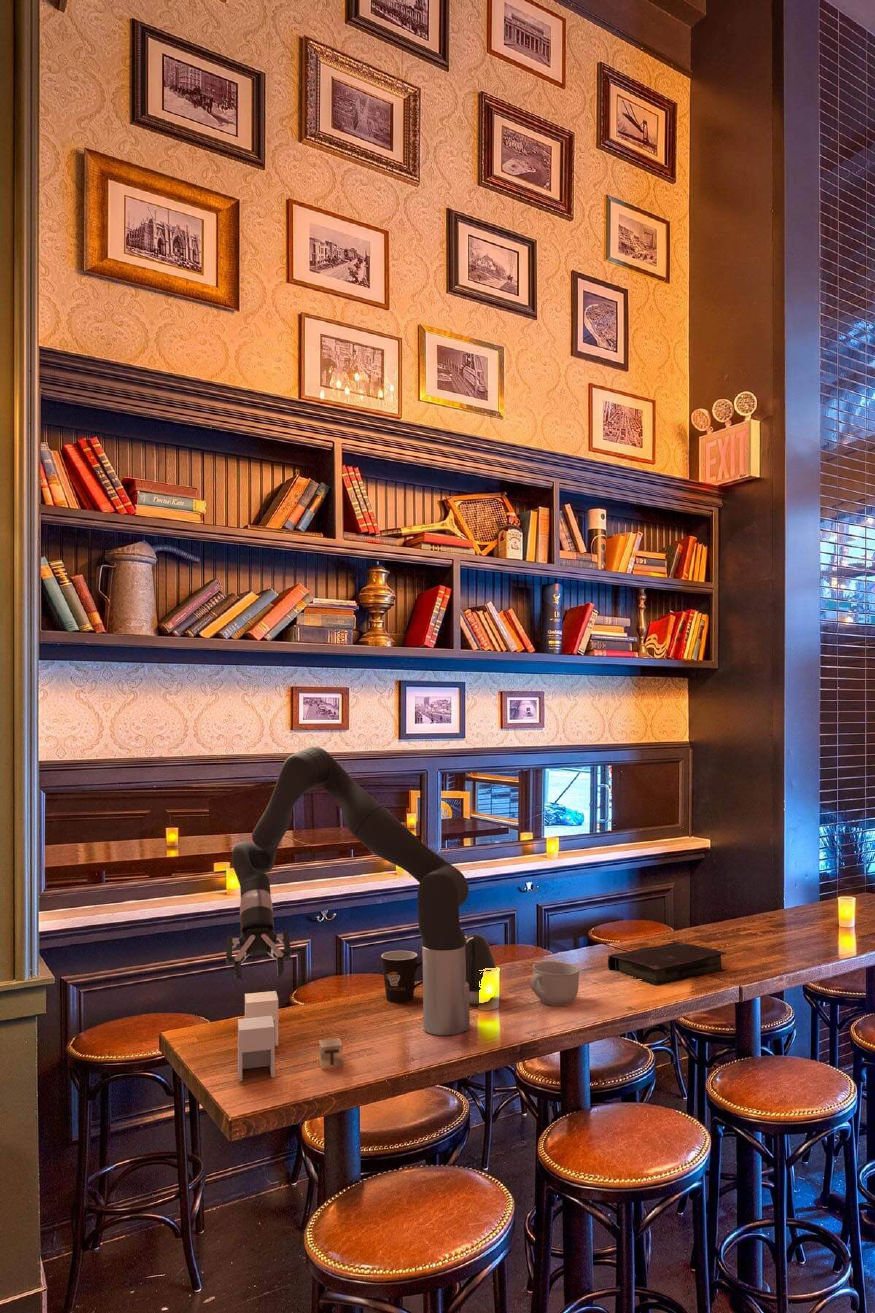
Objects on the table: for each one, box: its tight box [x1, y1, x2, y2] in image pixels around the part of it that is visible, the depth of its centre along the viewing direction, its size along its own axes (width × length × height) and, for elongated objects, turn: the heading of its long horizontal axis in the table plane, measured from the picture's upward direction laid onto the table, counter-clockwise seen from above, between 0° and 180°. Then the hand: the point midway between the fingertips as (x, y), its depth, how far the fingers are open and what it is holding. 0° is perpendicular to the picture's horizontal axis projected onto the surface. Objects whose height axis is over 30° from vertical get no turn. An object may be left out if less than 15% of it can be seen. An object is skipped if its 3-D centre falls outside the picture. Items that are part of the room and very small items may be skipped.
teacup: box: [529, 960, 580, 1007], centre depth 197 cm, size 14×11×8 cm
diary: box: [607, 941, 728, 986], centre depth 222 cm, size 19×25×5 cm
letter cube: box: [318, 1038, 344, 1070], centre depth 162 cm, size 4×4×4 cm
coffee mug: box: [380, 950, 423, 1004], centre depth 201 cm, size 12×9×10 cm
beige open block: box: [244, 990, 279, 1047], centre depth 175 cm, size 6×6×9 cm
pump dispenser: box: [465, 933, 497, 1005], centre depth 200 cm, size 10×10×15 cm
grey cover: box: [237, 1016, 276, 1082], centre depth 159 cm, size 6×6×9 cm
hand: (259, 977), depth 187 cm, fingers open, 8 cm apart
